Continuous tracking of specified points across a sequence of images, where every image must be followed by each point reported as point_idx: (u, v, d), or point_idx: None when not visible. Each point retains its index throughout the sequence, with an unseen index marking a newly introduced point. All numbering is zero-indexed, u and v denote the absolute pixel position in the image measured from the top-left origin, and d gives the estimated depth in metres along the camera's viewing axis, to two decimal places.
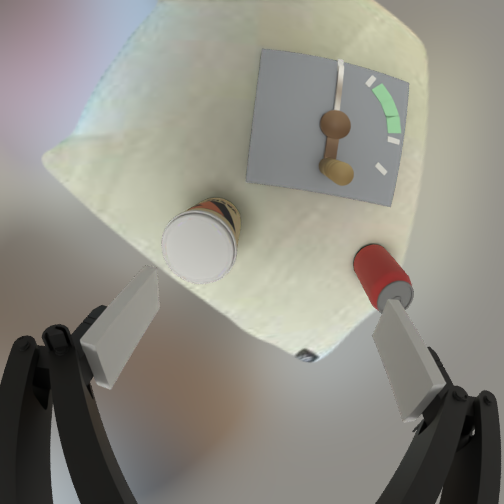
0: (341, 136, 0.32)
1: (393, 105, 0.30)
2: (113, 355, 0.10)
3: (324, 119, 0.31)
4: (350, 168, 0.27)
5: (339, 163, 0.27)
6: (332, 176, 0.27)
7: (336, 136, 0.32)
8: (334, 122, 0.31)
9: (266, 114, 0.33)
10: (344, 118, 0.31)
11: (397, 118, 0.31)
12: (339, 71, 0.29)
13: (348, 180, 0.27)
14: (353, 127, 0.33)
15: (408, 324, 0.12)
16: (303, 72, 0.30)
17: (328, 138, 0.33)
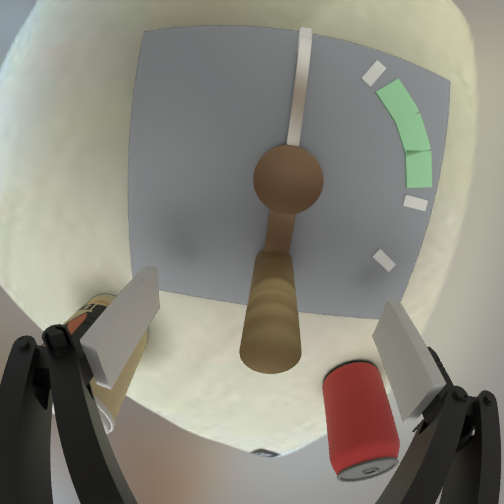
0: (300, 208, 0.15)
1: (420, 128, 0.14)
2: (113, 355, 0.10)
3: (259, 170, 0.15)
4: (292, 343, 0.10)
5: (261, 333, 0.10)
6: (244, 358, 0.11)
7: (288, 208, 0.15)
8: (283, 176, 0.15)
9: (149, 163, 0.17)
10: (308, 164, 0.14)
11: (426, 154, 0.15)
12: (301, 51, 0.12)
13: (286, 365, 0.11)
14: (332, 178, 0.16)
15: (408, 324, 0.12)
16: (222, 64, 0.14)
17: (272, 211, 0.16)
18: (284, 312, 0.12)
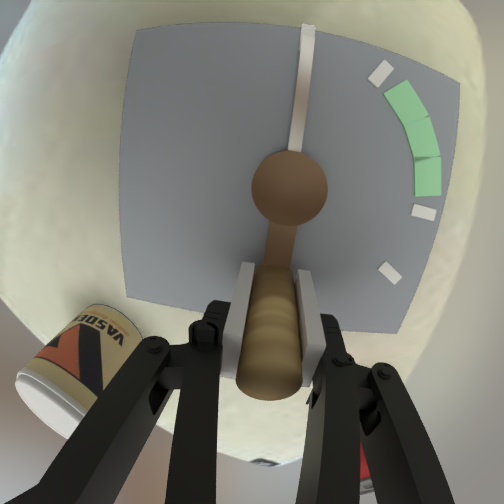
0: (302, 219, 0.14)
1: (430, 132, 0.13)
2: None
3: (258, 178, 0.14)
4: (293, 371, 0.09)
5: (259, 361, 0.09)
6: (240, 386, 0.10)
7: (289, 220, 0.14)
8: (284, 184, 0.14)
9: (141, 170, 0.16)
10: (312, 171, 0.13)
11: (436, 160, 0.14)
12: (303, 49, 0.11)
13: (286, 392, 0.10)
14: (336, 187, 0.15)
15: (308, 290, 0.14)
16: (218, 63, 0.13)
17: (271, 222, 0.15)
18: (284, 336, 0.10)
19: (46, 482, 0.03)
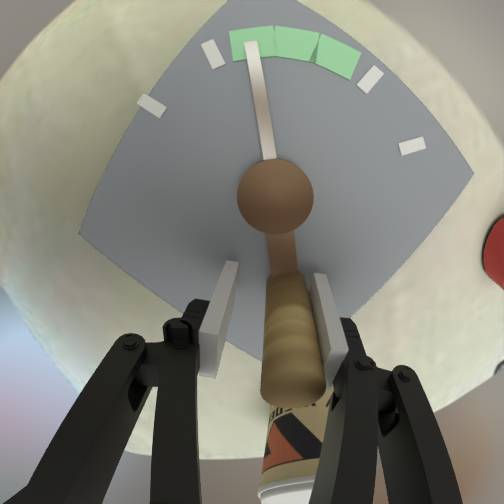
0: (295, 223, 0.14)
1: (291, 32, 0.12)
2: (220, 344, 0.11)
3: (242, 195, 0.14)
4: (313, 376, 0.09)
5: (277, 374, 0.09)
6: (268, 399, 0.10)
7: (283, 227, 0.14)
8: (269, 195, 0.14)
9: (192, 297, 0.19)
10: (291, 174, 0.13)
11: (323, 39, 0.12)
12: (249, 56, 0.12)
13: (313, 397, 0.10)
14: (301, 150, 0.15)
15: (326, 294, 0.14)
16: (140, 189, 0.16)
17: (268, 233, 0.15)
18: (299, 344, 0.10)
19: (35, 483, 0.03)
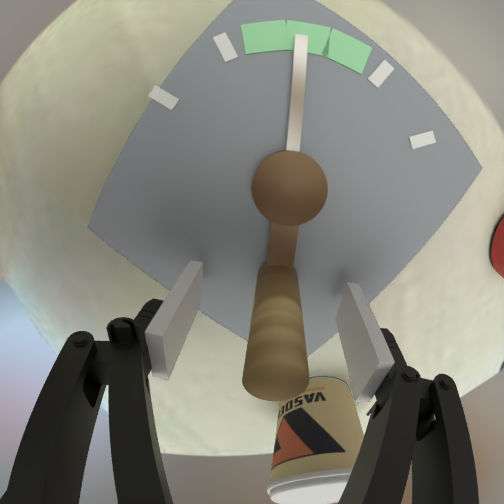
0: (303, 218, 0.14)
1: (303, 27, 0.11)
2: (172, 346, 0.11)
3: (258, 179, 0.14)
4: (299, 371, 0.09)
5: (265, 362, 0.09)
6: (247, 387, 0.10)
7: (290, 220, 0.14)
8: (284, 185, 0.14)
9: (203, 290, 0.19)
10: (311, 170, 0.13)
11: (335, 34, 0.11)
12: (297, 48, 0.11)
13: (293, 392, 0.10)
14: (314, 142, 0.14)
15: (363, 305, 0.13)
16: (151, 181, 0.16)
17: (273, 222, 0.15)
18: (290, 337, 0.10)
19: (13, 487, 0.02)
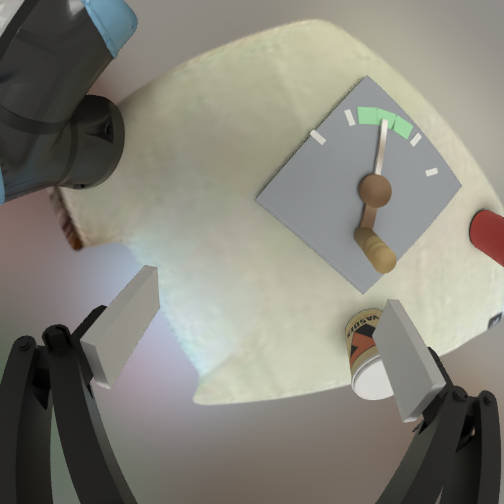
0: (381, 205, 0.30)
1: (384, 113, 0.27)
2: (113, 355, 0.10)
3: (364, 186, 0.29)
4: (393, 255, 0.24)
5: (383, 250, 0.24)
6: (374, 264, 0.25)
7: (376, 205, 0.30)
8: (375, 189, 0.29)
9: (323, 241, 0.34)
10: (385, 184, 0.29)
11: (397, 117, 0.27)
12: (383, 126, 0.27)
13: (390, 268, 0.25)
14: (384, 171, 0.30)
15: (408, 324, 0.12)
16: (306, 179, 0.31)
17: (366, 206, 0.31)
18: None
19: None
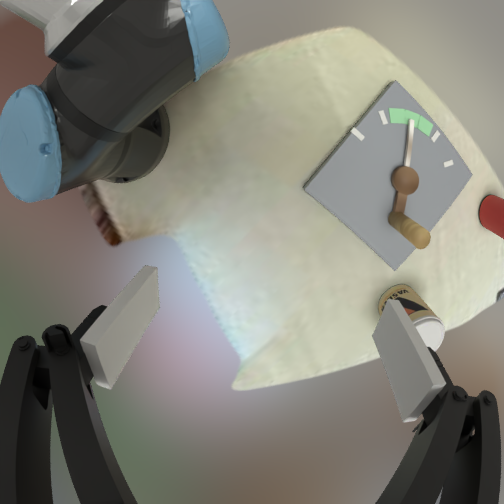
0: (411, 192, 0.33)
1: (410, 113, 0.30)
2: (113, 355, 0.10)
3: (398, 176, 0.32)
4: (428, 233, 0.28)
5: (420, 230, 0.28)
6: (414, 241, 0.28)
7: (407, 192, 0.33)
8: (406, 179, 0.32)
9: (363, 225, 0.37)
10: (414, 174, 0.32)
11: (420, 117, 0.30)
12: (410, 125, 0.30)
13: (425, 244, 0.28)
14: (411, 163, 0.33)
15: (408, 324, 0.12)
16: (348, 171, 0.34)
17: (399, 193, 0.34)
18: (421, 226, 0.29)
19: None
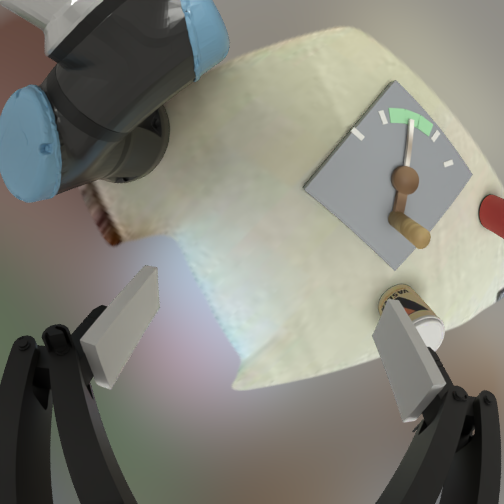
0: (411, 192, 0.33)
1: (410, 113, 0.30)
2: (113, 355, 0.10)
3: (398, 176, 0.32)
4: (428, 233, 0.28)
5: (420, 229, 0.28)
6: (414, 241, 0.28)
7: (407, 192, 0.33)
8: (406, 179, 0.32)
9: (363, 225, 0.37)
10: (414, 174, 0.32)
11: (420, 117, 0.30)
12: (410, 125, 0.30)
13: (425, 244, 0.28)
14: (411, 163, 0.33)
15: (408, 324, 0.12)
16: (348, 171, 0.34)
17: (399, 193, 0.34)
18: (421, 226, 0.29)
19: None
